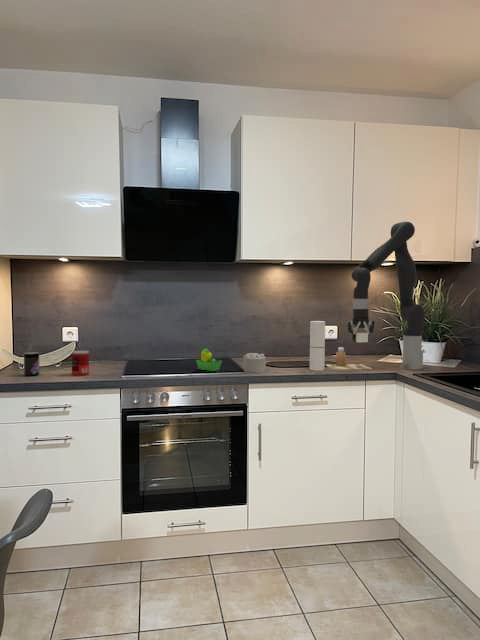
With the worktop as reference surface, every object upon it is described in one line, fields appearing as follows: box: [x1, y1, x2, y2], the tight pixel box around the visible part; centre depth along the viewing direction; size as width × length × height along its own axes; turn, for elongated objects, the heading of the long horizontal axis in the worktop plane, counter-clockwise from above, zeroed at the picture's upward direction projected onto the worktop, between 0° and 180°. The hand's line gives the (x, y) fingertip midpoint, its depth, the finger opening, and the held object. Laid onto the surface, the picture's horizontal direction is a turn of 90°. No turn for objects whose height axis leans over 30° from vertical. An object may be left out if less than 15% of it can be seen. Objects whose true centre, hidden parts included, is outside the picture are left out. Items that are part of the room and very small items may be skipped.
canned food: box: [71, 350, 90, 377], centre depth 227 cm, size 8×8×11 cm
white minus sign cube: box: [355, 331, 369, 343], centre depth 243 cm, size 6×6×5 cm
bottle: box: [335, 346, 347, 367], centre depth 249 cm, size 5×5×10 cm
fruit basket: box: [195, 348, 223, 372], centre depth 241 cm, size 11×9×11 cm
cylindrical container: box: [309, 320, 326, 374], centre depth 237 cm, size 7×7×25 cm
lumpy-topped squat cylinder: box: [242, 352, 266, 374], centre depth 241 cm, size 10×13×9 cm
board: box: [324, 363, 373, 370], centre depth 247 cm, size 20×16×2 cm
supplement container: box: [23, 351, 41, 377], centre depth 225 cm, size 7×7×10 cm
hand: (360, 341), depth 243 cm, fingers closed on white minus sign cube, 5 cm apart
